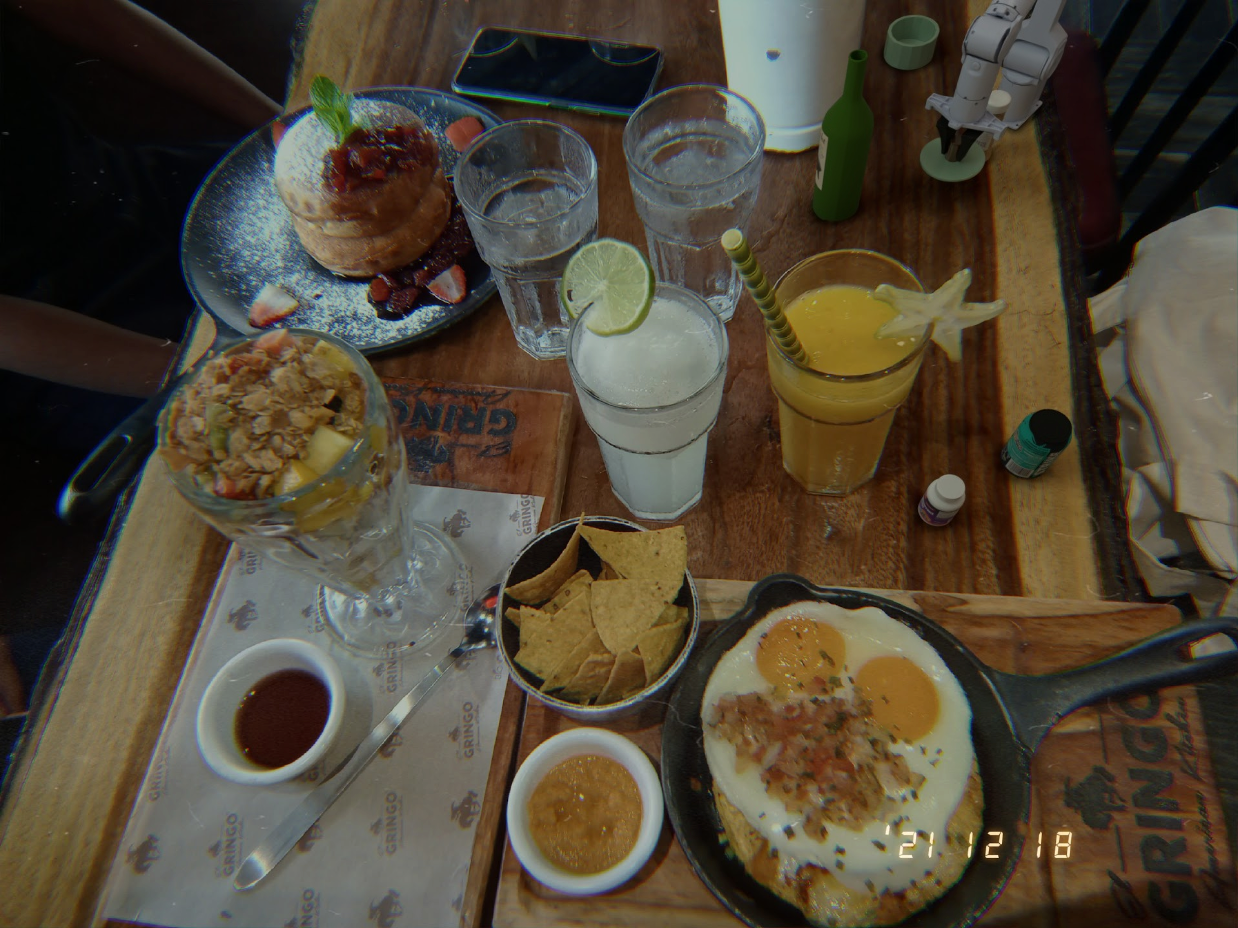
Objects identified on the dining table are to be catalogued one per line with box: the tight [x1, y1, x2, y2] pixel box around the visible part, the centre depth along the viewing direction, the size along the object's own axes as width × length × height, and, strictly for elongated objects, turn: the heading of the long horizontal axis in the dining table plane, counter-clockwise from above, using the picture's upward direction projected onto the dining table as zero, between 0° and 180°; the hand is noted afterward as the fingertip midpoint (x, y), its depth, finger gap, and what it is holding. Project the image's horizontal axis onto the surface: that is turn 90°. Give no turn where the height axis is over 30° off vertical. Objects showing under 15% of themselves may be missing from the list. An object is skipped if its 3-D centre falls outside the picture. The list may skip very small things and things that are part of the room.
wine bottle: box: [812, 49, 875, 222], centre depth 132 cm, size 9×9×32 cm
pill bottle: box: [917, 473, 966, 527], centre depth 112 cm, size 5×5×10 cm
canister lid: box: [919, 134, 986, 183], centre depth 135 cm, size 11×11×5 cm
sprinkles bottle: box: [975, 89, 1011, 162], centre depth 140 cm, size 5×5×13 cm
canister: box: [883, 14, 941, 71], centre depth 160 cm, size 10×10×6 cm
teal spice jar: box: [1000, 408, 1073, 480], centre depth 112 cm, size 7×7×12 cm
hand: (953, 154), depth 135 cm, fingers closed on canister lid, 2 cm apart
